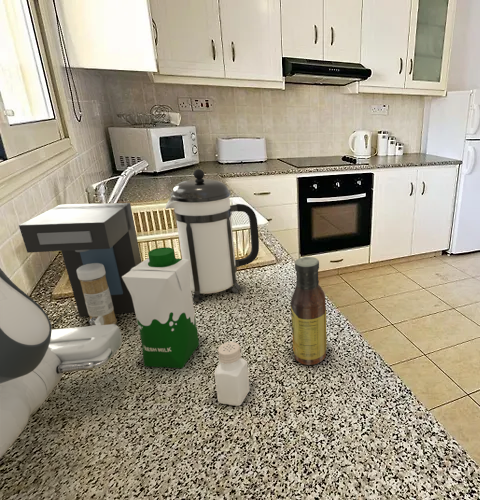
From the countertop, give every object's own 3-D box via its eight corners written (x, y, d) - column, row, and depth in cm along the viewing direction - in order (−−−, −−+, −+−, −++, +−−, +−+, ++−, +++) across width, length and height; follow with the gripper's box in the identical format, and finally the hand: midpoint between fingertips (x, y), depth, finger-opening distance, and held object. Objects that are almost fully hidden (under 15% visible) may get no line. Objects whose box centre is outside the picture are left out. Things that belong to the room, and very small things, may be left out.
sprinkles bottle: (101, 319, 80) (86, 261, 75) (122, 319, 80) (108, 262, 75) (86, 331, 76) (70, 271, 71) (108, 332, 76) (93, 272, 71)
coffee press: (225, 309, 85) (210, 177, 74) (167, 298, 89) (144, 172, 78) (262, 278, 101) (255, 165, 90) (211, 269, 105) (198, 161, 94)
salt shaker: (251, 390, 62) (247, 341, 58) (240, 408, 58) (235, 357, 54) (228, 386, 62) (223, 338, 59) (216, 404, 58) (209, 354, 55)
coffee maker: (55, 345, 71) (17, 226, 63) (87, 307, 84) (59, 204, 76) (129, 338, 74) (103, 222, 65) (149, 302, 87) (130, 202, 78)
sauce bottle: (303, 343, 74) (300, 250, 66) (332, 351, 72) (332, 255, 64) (286, 363, 68) (281, 263, 61) (317, 372, 66) (316, 270, 59)
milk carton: (205, 341, 73) (192, 247, 66) (184, 372, 65) (166, 268, 58) (162, 339, 74) (143, 245, 66) (135, 370, 65) (111, 266, 58)
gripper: (98, 348, 53) (130, 301, 66) (-75, 365, 49) (-5, 311, 61) (108, 384, 55) (137, 331, 68) (-57, 402, 51) (7, 343, 64)
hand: (68, 322), depth 65 cm, fingers open, 8 cm apart
